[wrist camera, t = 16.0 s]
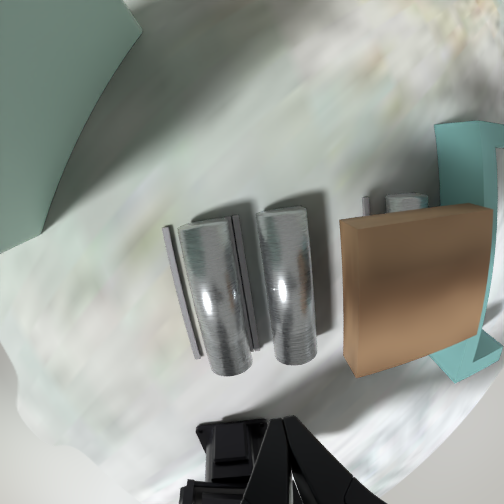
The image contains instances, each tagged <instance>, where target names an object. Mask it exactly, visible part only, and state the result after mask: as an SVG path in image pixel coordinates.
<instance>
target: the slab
mask: <svg viewBox="0 0 504 504" xmlns="http://www.w3.org/2000/svg"><path fill="white" fill-rule="evenodd" d="M339 222H340V235H341V252H342V273H343V313H344V341H343V356H344V358H345V359H346V361H347V363H348V365H349V366H350V368H351V370H352V372H353V374H354V375H355V377H356V378H359V377H363V376H366V375H370V374H373V373H377V372H380V371H383V370H386V369H389V368H393V367H396V366H399V365H402V364H405V363H408V362H410V361H413V360H416V359H419V358H422V357H424V356H427V355H430V354H432V353H435V352H437V351H440V350H443V349H445V348H447V347H450V346H452V345H455V344H457V343H459V342H462V341H464V340H466V339H469V338H471V337H473V336H475V335H477V331H478V327H479V323H480V318H481V313H482V308H483V303H484V298H485V292H486V286H487V279H488V272H489V264H490V255H491V244H492V229H493V209H490V208H487V207H483V206H479V205H475V204H471V203H463V204H455V205H447V206H439V207H431V208H423V209H415V210H407V211H399V212H392V213H384V214H377V215H370V216H362V217H355V218H348V219H341V220H339Z"/></svg>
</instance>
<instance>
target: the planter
mask: <svg viewBox="0 0 504 504" xmlns="http://www.w3.org/2000/svg"><path fill="white" fill-rule="evenodd" d="M141 33H142V28H141V26H140V25H139V23H138V22H137V20H136V19H135V18H134V16H133V15H132V13H131V12H130V10H129V9H128V7H127V6H126V4H125V3H124V1H123V0H0V254H1V253H3V252H5V251H7V250H9V249H11V248H13V247H15V246H17V245H20V244H22V243H24V242H26V241H28V240H30V239H32V238H35V237H37V236H39V235H40V234H41V232H42V229H43V226H44V223H45V220H46V216H47V213H48V211H49V208H50V205H51V202H52V199H53V196H54V194H55V191H56V188H57V186H58V183H59V181H60V178H61V176H62V173H63V171H64V168H65V166H66V164H67V161H68V159H69V157H70V155H71V153H72V150H73V148H74V146H75V144H76V142H77V140H78V138H79V136H80V134H81V131H82V129H83V127H84V125H85V124H86V122H87V120H88V118H89V116H90V114H91V112H92V110H93V108H94V107H95V105H96V103H97V101H98V99H99V98H100V96H101V94H102V92H103V91H104V89H105V87H106V86H107V84H108V82H109V81H110V79H111V78H112V76H113V74H114V73H115V71H116V70H117V68H118V67H119V65H120V64H121V62H122V61H123V59H124V58H125V56H126V55H127V53H128V52H129V50H130V49H131V47H132V46H133V45H134V43H135V42H136V40H137V39H138V38H139V36H140V35H141Z"/></svg>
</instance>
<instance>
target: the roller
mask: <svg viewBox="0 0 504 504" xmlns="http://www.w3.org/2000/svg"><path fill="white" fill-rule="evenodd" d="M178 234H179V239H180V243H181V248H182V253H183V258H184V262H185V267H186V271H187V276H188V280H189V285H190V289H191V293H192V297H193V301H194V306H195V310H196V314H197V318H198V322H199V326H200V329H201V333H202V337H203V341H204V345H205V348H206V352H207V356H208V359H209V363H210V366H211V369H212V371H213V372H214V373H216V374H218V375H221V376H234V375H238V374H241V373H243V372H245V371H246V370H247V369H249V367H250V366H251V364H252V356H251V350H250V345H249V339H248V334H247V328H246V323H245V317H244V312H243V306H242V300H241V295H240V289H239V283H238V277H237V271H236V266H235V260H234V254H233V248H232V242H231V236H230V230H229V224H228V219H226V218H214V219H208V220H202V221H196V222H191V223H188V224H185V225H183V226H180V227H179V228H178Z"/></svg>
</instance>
